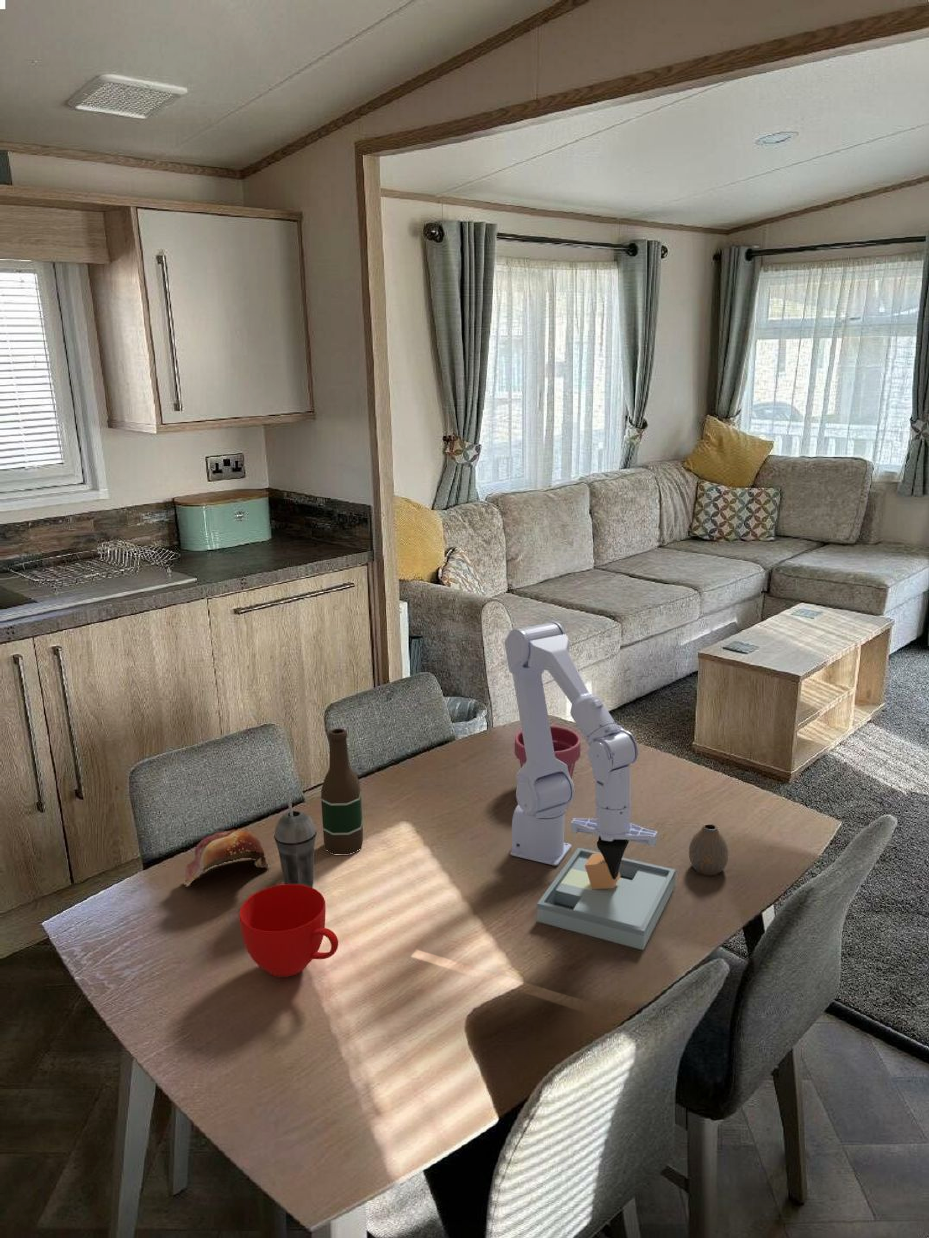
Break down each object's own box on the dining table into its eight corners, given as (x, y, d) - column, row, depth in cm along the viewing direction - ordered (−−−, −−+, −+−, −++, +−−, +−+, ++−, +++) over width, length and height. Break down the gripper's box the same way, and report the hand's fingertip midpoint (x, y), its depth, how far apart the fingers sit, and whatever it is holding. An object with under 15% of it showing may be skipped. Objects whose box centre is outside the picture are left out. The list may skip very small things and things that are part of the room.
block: (592, 889, 155) (584, 865, 154) (599, 877, 158) (592, 853, 158) (613, 887, 153) (606, 863, 152) (620, 875, 156) (613, 852, 156)
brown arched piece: (264, 853, 173) (260, 806, 170) (280, 885, 162) (276, 835, 159) (178, 873, 166) (172, 824, 164) (189, 908, 155) (183, 856, 153)
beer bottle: (316, 852, 173) (308, 735, 166) (336, 833, 180) (329, 720, 173) (352, 859, 170) (345, 741, 164) (371, 840, 177) (365, 726, 170)
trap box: (537, 921, 150) (537, 903, 149) (578, 863, 167) (578, 847, 166) (643, 950, 142) (644, 931, 141) (674, 886, 159) (675, 869, 159)
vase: (728, 882, 161) (731, 837, 158) (688, 878, 162) (691, 834, 160) (725, 862, 167) (728, 819, 165) (687, 858, 169) (689, 816, 166)
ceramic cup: (309, 1011, 130) (305, 951, 127) (226, 972, 139) (220, 915, 136) (365, 962, 140) (362, 905, 138) (284, 929, 149) (280, 875, 146)
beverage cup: (328, 887, 161) (322, 784, 156) (305, 908, 155) (297, 802, 149) (294, 878, 164) (287, 777, 159) (270, 899, 158) (261, 794, 152)
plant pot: (583, 807, 189) (584, 750, 185) (516, 808, 189) (515, 751, 186) (576, 777, 203) (577, 724, 199) (513, 778, 203) (513, 725, 199)
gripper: (563, 805, 151) (565, 879, 154) (649, 819, 144) (649, 896, 147) (578, 789, 157) (579, 860, 160) (660, 801, 150) (660, 875, 154)
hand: (613, 876), depth 154 cm, fingers closed, pressing on block
